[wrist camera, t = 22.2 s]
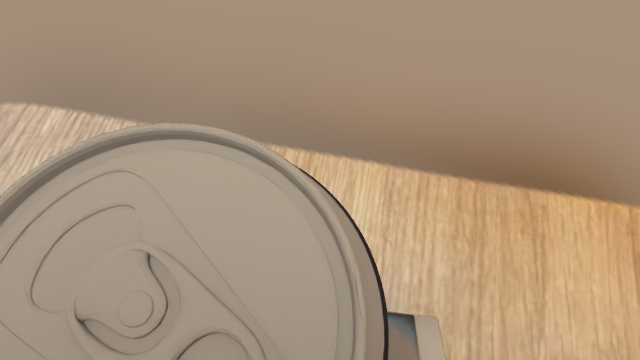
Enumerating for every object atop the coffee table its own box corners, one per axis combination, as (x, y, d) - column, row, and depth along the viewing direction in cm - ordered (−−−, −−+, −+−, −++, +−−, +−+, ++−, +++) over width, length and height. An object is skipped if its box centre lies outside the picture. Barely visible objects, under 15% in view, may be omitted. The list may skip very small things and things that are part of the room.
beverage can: (265, 238, 18) (161, 24, 6) (381, 340, 16) (507, 288, 5) (155, 358, 16) (-235, 349, 5) (273, 482, 15) (105, 870, 3)
